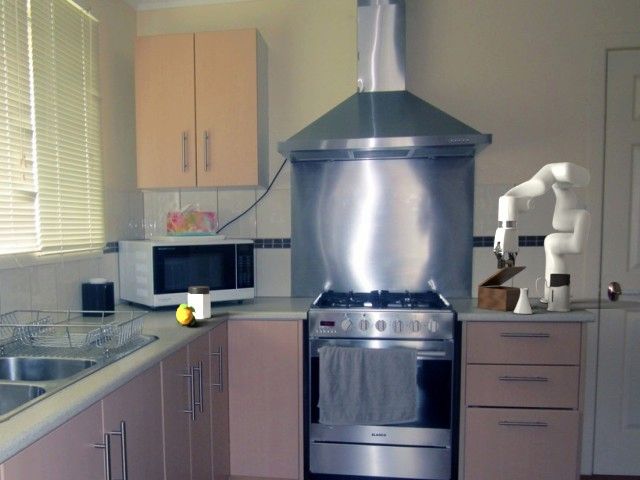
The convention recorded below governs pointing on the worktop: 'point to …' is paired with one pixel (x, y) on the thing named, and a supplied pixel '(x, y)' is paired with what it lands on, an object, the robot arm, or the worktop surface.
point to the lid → (502, 275)
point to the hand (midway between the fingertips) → (506, 268)
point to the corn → (185, 314)
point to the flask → (523, 303)
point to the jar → (200, 301)
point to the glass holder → (558, 292)
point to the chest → (498, 297)
